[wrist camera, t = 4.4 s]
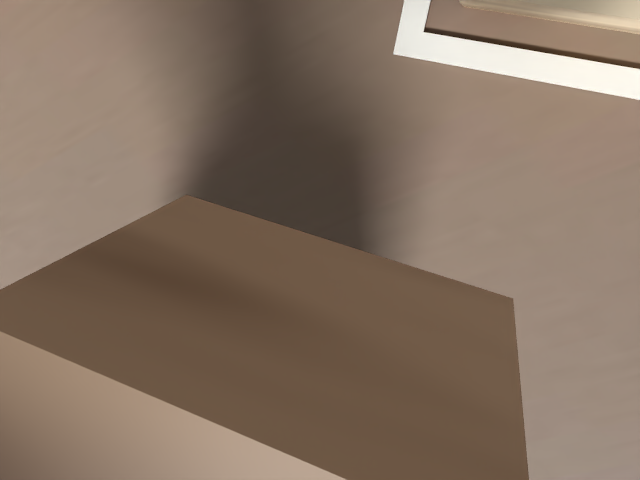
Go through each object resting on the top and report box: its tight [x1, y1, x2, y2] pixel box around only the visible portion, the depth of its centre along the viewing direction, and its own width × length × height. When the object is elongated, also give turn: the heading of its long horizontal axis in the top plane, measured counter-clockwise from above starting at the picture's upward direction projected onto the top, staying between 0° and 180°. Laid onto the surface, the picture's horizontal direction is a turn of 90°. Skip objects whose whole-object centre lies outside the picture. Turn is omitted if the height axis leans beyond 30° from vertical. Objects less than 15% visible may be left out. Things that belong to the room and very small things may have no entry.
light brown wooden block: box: [0, 195, 529, 480], centre depth 7 cm, size 6×6×4 cm
